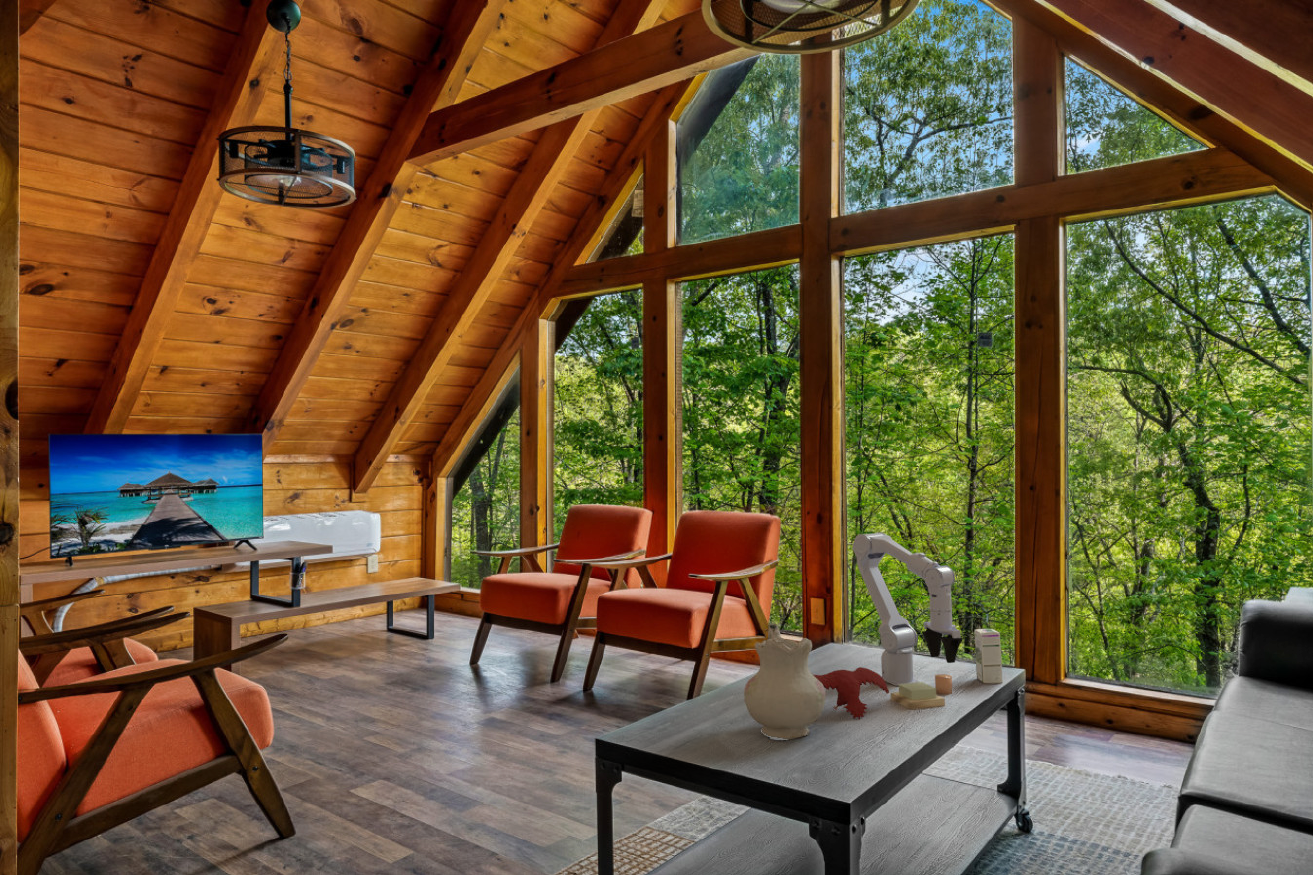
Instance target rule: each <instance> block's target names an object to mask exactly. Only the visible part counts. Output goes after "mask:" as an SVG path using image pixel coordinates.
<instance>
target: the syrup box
mask: <svg viewBox="0 0 1313 875" xmlns="http://www.w3.org/2000/svg"><path fill="white" fill-rule="evenodd" d="M974 646H975V648H974V649H975V651H974V652H975V670H976V679H977V680H978V681H980V682H981V683H982V684H1002V683H1003V666H1002V665H1003V664H1002V662H1003V661H1002V649H1001V648H1002V646H1001V633H1000V632H999V631H997V630H996V629H993V628H978V629H974Z"/></svg>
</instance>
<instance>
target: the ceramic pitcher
mask: <svg viewBox="0 0 1313 875" xmlns="http://www.w3.org/2000/svg"><path fill="white" fill-rule="evenodd" d="M754 648H755V651H756V653H757V655H758V657H759V663H760V664H759V669H758V671H757V672H756V674H754V675H753V676H752V677H751V678H750V679H748V680H747V681H746V683H745V686H744V689H743V690H744V691H743V692H744V693H743V694H744V696H743V697H744V700H743V701H744V703H745V707H746V709H747V712H748V714H750V717H751V718H752V719H753V720H754V721H755V722H756V723H757V724H759V725H761V726H762V728H761V729H762V732H763V733H764V734H766V735H768V736H771V737H777V738H783V739H790V740H793V739H797V738H802V737H807V736H808V735H809V734H810V732H811V731H810V729H809V728H808V727H809V726H811V725H812V724H814V722H816V721H817V720H818V719H819V718H820V716H821V715H822V713H823V710H824V707H825V704H826V703H825V702H826V688H824V687H823V684H822V683H821V682H820V681H819V680H818V679H817V678H815V677H814V676H813V675H814V674H813V675H812V672H811V671H810V669H809V664H808V663H809V657H810V653H811V651H812V648H813V643H812V640H811V639H808V638H806V637H803V638H802V639H801V640H799V641H798V642H797V641H795V640H793V639H792V640H791V639H787V638H783V637H782V635H781V632H780V628H779V625H778V624H776V623H775V622H768V631H767V639H765V640H763V641H762V642H758V641H757V642H755V644H754ZM807 734H808V735H807ZM806 735H807V736H806Z"/></svg>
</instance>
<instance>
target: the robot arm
mask: <svg viewBox="0 0 1313 875" xmlns="http://www.w3.org/2000/svg"><path fill="white" fill-rule="evenodd" d="M851 548H852V550H853V553H854V554H855V557H856V564H857V568H858V571H859V573H860V576H861V577H862V580H863V582H864V585H865V587H866V589H867V591H868V593H869V596H870V598H871V600H872V602H873V604H874V607H875V609H876V611H877V613H878V616H879V619H880V621H881V623H880V625H879V627H878V632H879V636H880V644H881V645H882V647H883V648H884V650H883V652H882V654H881V656H880V658H881V659H880V660H881V663H880V664H881V677H882V678H883V679H884V681H885V682H886V683H888V684H890V685H893V686H894V687H895V686H896V687H899V685H898V684H907V683H917V682H920V681H919V680H917V679H915V678H914V659H913V657H914V656H913V652H914V650H915V649H914V647H915V646H917V644H918V639H919V638H918V634H917V632H916V630H915V629H914V628H913V626H912V625H911V624H910V622H909V620H908V619H906V618H904V617H903V616H901V615H900V613H899V611H898V609H897V606H896V604H895V602H894V600H893V597H892V595H891V593H890V591H889V589H888V587H887V584H886V582H885V580H884V578H883V576H882V573H881V571H880V569H879V564H880V562H881V561H882V560H883V558H884V556H885V555H886V554H887V555H889V556H891V557H893V558H895V559H897V560H898V561H900V562H902V563H904V564H905V565H906V568H907V570H908V571H909V572H911V573H913V574H914V575H915V576H917V577H919V578H920V579H922V580H924V583H925V584H926V586H927V591H928V592H927V593H928V594H929V613H930V614H929V617H930V618H929V619H930V620H929V621H924V622H923V629H924V630H923V631H921V635H922V636H923V638H924V640H925V641H926V644H927V647H928V651H929V655H930V658H931V657H932V658H937V657H939V656H940V645H941V642H942V645H943V648H944V652H945V661H946V663H947V664H953V663H956V658H957V653H958V650H959V647H960V645H961V644H962V642H963V637H962V636H961V630H959V629H957V628H956V625H955V624H953V611H952V610H953V608H952V585H953V584H954V583H955V581H956V575H955V572H954V570H953V569H952V568H951V567H950V566H949V565H945V564H944V565H940V564H939V562H937V561H933V560H931V559H930V558H928V557H927V556H926V553H924V552H915V553H912V552H911V551H909V550H908V549H906V548H905V547H904V546H902V545H901V544H900V543H898V542H896V541H894V540H893V539H892V537H891V536H890V535H887V534H886V533H884V532H882V531H879V532H875V533H865V534H864V533H860V534H857V535H856V536H855V538H854V541H853V544H852V547H851ZM943 635H945V636H943Z"/></svg>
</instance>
